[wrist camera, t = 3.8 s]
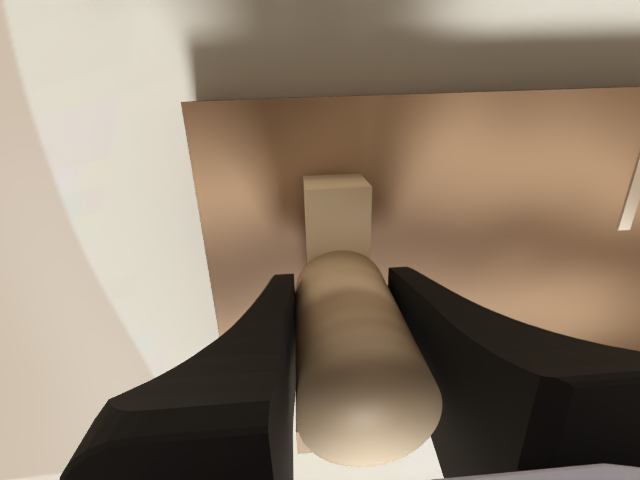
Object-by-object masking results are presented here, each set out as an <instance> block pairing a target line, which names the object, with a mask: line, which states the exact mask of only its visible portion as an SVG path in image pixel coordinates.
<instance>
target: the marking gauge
mask: <svg viewBox="0 0 640 480" xmlns="http://www.w3.org/2000/svg"><path fill="white" fill-rule="evenodd" d="M303 185H304V206H305V226H306V247H307V265H306V266H305V267H304V268H303V270H302V271H301V273H300V274H299V276H298V278H297V281H296V285H295V361H296V437H297V450H298V454H300V453H311V452H313V453H314V454H316V455H317V456H319V457H320V458H322V459H324V460H326V461H329V462H331V463H334V464H338V465H342V466H349V467H371V466H378V465H382V464H387V463H390V462H393V461H396V460H398V459H400V458H403V457H404V456H406V455H408V454H410V453H411V452H413V451H414V450H416V449H417V448H419V447H420V446H421V445H422V444H423V443H424V442H425V441H426V440H427V439H428V438H429V437H430V436H431V434H432V433H433V432H434V430H435V428H436V427H437V425H438V423H439V420H440V417H441V413H442V396H441V393H440V390H439V387H438V385H437V383H436V381H435V379H434V377H433V375H432V373H431V371H430V369H429V368H428V366H427V364H426V362H425V360H424V358H423V356H422V354H421V352H420V350H419V348H418V346H417V344H416V342H415V340H414V338H413V336H412V334H411V332H410V330H409V328H408V326H407V324H406V322H405V320H404V318H403V316H402V314H401V312H400V310H399V308H398V306H397V304H396V302H395V300H394V298H393V296H392V294H391V292H390V290H389V288H388V286H387V284H386V282H385V280H384V278H383V276H382V274H381V272H380V270H379V268H378V267H377V266H376V264H375V263H374V262H373V261H372V260H370V255H371V214H372V186H371V185H370V184H369V183H368V182H367V180H366V179H365V178H364V177H363V176H362V175H361V174H360V173H358V174H336V175H314V176H303Z"/></svg>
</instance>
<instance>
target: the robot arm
mask: <svg viewBox="0 0 640 480" xmlns="http://www.w3.org/2000/svg"><path fill="white" fill-rule="evenodd" d="M388 288H389V290H390V292H391V294H392V296H393V298H394V300H395V302H396V304H397V306H398V308H399V310H400V312H401V314H402V316H403V318H404V320H405V322H406V324H407V326H408V328H409V330H410V332H411V334H412V336H413V338H414V340H415V342H416V344H417V346H418V348H419V350H420V352H421V354H422V356H423V358H424V360H425V362H426V364H427V366H428V368H429V369H430V371H431V373H432V375H433V377H434V379H435V381H436V383H437V385H438V387H439V390H440V393H441V396H442V413H441V417H440V420H439V423H438V425H437V427H436V428H435V430H434V432H433V433H432V434H431V438H432V441H433V444H434V448H435V451H436V454H437V457H438V460H439V463H440V467H441V470H442V473H443V476H444V479H433V480H640V351H636V350H631V349H625V348H620V347H614V346H608V345H604V344H599V343H595V342H591V341H587V340H582V339H578V338H574V337H570V336H566V335H563V334H559V333H555V332H552V331H548V330H545V329H542V328H539V327H536V326H532V325H529V324H526V323H523V322H521V321H518V320H515V319H512V318H510V317H507V316H505V315H502V314H500V313H497V312H495V311H492V310H490V309H487V308H485V307H483V306H481V305H479V304H477V303H475V302H472V301H470V300H468V299H466V298H464V297H462V296H460V295H459V294H457V293H455V292H453V291H451V290H449V289H447V288H446V287H444V286H442V285H440V284H439V283H437V282H435V281H433V280H432V279H430V278H428V277H426V276H425V275H423V274H421V273H419V272H418V271H416V270H414V269H412V268H410V267H391V268H389V269H388ZM295 390H296V361H295V283H294V273H293V274H277V275H274V276H273V277H272V278H271V280H270V281H269V283H268V284H267V286H266V287H265V288H264V290H263V291H262V293H261V294H260V295H259V297H258V298H257V299H256V300H255V302H254V303H253V304H252V305H251V307H250V308H249V309H248V310H247V311H246V312H245V313H244V314H243V315H242V316H241V318H240V319H239V320H238V321H237V322H236V323H235V324H234V325H233V326H232V327H231V328H230V329H228V330H227V331H226V332H225V333H224V334H223V335H221V336H220V337H219V338H218V339H216V340H215V341H214V342H212V343H211V344H210V345H208V346H207V347H205V348H204V349H203V350H201V351H200V352H198V353H197V354H195V355H194V356H193V357H191V358H189V359H188V360H186V361H185V362H183V363H181V364H180V365H178V366H176V367H175V368H173V369H171V370H169V371H167V372H166V373H164V374H162V375H160V376H158V377H156V378H154V379H152V380H150V381H148V382H146V383H144V384H142V385H140V386H137V387H135V388H133V389H131V390H129V391H127V392H125V393H122V394H120V395H118V396H116V397H113V398H111V399H109V400H108V401H107V403H106V404H105V406H104V407H103V408H102V410H101V411H100V413H99V414H98V416H97V417H96V418H95V420H94V421H93V423H92V425H91V427H90V428H89V430H88V431H87V433H86V435H85V437H84V438H83V440H82V442H81V443H80V445H79V446H78V448H77V450H76V452H75V453H74V455H73V456H72V458H71V460H70V461H69V463H68V465H67V467H66V468H65V470H64V471H63V473H62V475H61V476H60V480H293V415H294V403H295Z"/></svg>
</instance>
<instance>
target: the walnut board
mask: <svg viewBox="0 0 640 480" xmlns="http://www.w3.org/2000/svg"><path fill="white" fill-rule="evenodd" d="M181 106H182V112H183V118H184V124H185V130H186V136H187V142H188V148H189V154H190V160H191V166H192V172H193V179H194V185H195V191H196V197H197V203H198V209H199V215H200V221H201V227H202V233H203V239H204V245H205V252H206V258H207V264H208V270H209V276H210V282H211V288H212V294H213V300H214V306H215V312H216V318H217V325H218V331H219V337H220V336H221V335H223V334H224V333H225V332H226V331H227V330H228V329H230V328H231V327H232V326H233V325H234V324H235V323H236V322H237V321H238V320H239V319H240V318H241V316H242V315H243V314H244V313H245V312H246V311H247V310H248V309H249V308H250V307H251V305H252V304H253V303H254V302H255V300H256V299H257V298H258V297H259V295H260V294H261V293H262V291H263V290H264V288H265V287H266V286H267V284H268V283H269V281H270V280H271V278H272V277H273V276H274V275H277V274H293V273H294V283H295V285H296V281H297V278H298V276H299V274H300V273H301V271H302V270H303V268H304V267H305V266H306V265H307V247H306V226H305V206H304V185H303V176H314V175H336V174H358V173H360V174H361V175H362V176H363V177H364V178H365V179H366V180H367V182H368V183H369V184H370V185H371V186H372V214H371V255H370V260H372V261H373V262H374V263H375V264H376V266H377V267H378V268H379V270H380V272H381V274H382V276H383V278H384V280H385V282H386V284H387V286H388V269H389V268H391V267H410V268H412V269H414V270H416V271H418V272H419V273H421V274H423V275H425V276H426V277H428V278H430V279H432V280H433V281H435V282H437V283H439V284H440V285H442V286H444V287H446V288H447V289H449V290H451V291H453V292H455V293H457V294H459V295H460V296H462V297H464V298H466V299H468V300H470V301H472V302H475V303H477V304H479V305H481V306H483V307H485V308H487V309H490V310H492V311H495V312H497V313H500V314H502V315H505V316H507V317H510V318H512V319H515V320H518V321H521V322H523V323H526V324H529V325H532V326H536V327H539V328H542V329H545V330H548V331H552V332H555V333H559V334H563V335H566V336H570V337H574V338H578V339H582V340H587V341H591V342H595V343H599V344H604V345H608V346H614V347H620V348H625V349H631V350H636V351H640V86H639V87H609V88H578V89H548V90H518V91H488V92H458V93H428V94H398V95H368V96H338V97H308V98H278V99H248V100H218V101H192V102H181Z"/></svg>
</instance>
